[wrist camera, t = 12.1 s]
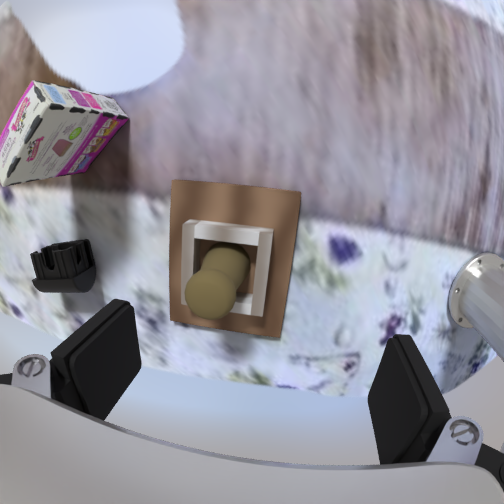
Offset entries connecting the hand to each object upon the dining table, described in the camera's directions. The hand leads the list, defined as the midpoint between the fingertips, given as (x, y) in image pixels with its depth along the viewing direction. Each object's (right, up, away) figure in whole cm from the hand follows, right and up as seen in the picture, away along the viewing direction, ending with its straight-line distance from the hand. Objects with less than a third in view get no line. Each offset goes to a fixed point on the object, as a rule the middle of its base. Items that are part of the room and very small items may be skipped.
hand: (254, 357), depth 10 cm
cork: (-3, +2, +29) cm, 29 cm away
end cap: (-29, +2, +33) cm, 44 cm away
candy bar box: (-22, +20, +27) cm, 40 cm away
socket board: (-3, +3, +30) cm, 30 cm away
